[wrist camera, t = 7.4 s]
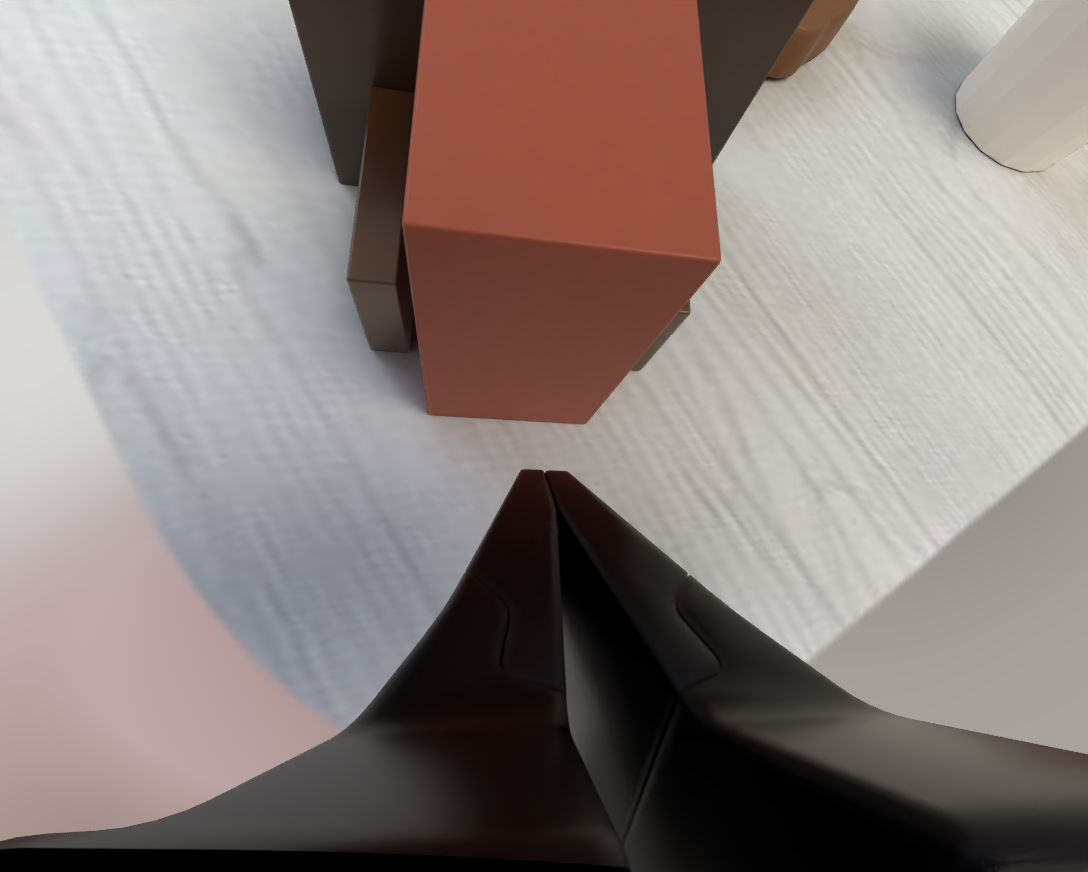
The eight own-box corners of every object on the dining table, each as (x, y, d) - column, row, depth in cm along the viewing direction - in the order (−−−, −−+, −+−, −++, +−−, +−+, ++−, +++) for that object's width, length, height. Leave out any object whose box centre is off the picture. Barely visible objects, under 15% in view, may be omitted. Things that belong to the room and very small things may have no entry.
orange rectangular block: (585, 425, 17) (724, 261, 8) (427, 415, 16) (400, 224, 8) (583, 214, 19) (690, -85, 11) (444, 196, 18) (437, -142, 10)
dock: (685, 375, 18) (895, 186, 9) (316, 346, 16) (163, 77, 8) (669, 139, 21) (821, -172, 12) (352, 91, 19) (270, -317, 10)
